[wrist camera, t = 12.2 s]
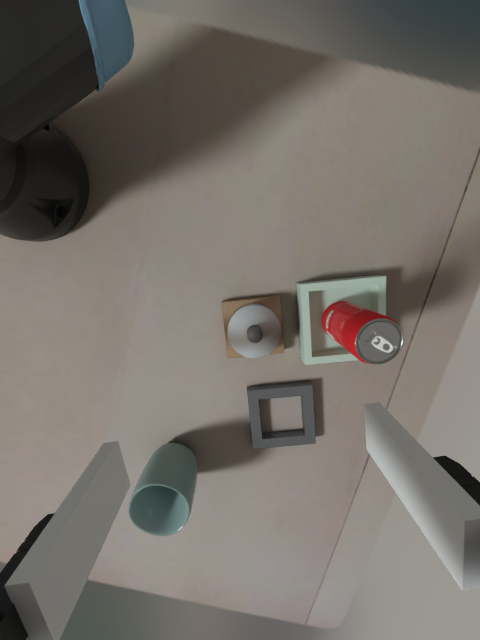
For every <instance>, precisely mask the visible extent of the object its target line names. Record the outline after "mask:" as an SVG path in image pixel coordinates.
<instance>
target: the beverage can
mask: <svg viewBox="0 0 480 640" xmlns="http://www.w3.org/2000/svg"><path fill="white" fill-rule="evenodd" d="M322 327H323V329H324V331H325V332H326V333H327V334H328V335H329V336H330V337H332V338H333V339H334V340H335V341H336V342H338V343H339V344H340V345H341V346H343V347H344V348H345V349H346V350H347V351H349V352H350V353H351V354H352V355H354V356H355V357H356V358H357V359H359V360H360V361H362V362H365V363H369V364H384V363H386V362H389V361H390V360H392V359H393V358H394V357H396V356H397V354H398V353H399V351H400V350H401V347H402V344H403V334H402V331H401V329H400V328H399V326H398V325H397V324H396V323H395V321H393V320H392V319H391V318H389V317H387V316H385V315H382V314H379V313H377V312H374V311H371V310H368V309H366V308H363V307H360V306H357V305H355V304H352V303H349V302H346V301H338V302H335V303H333V304H331V305H329V306H328V307H327V308H326V310H325V311H324V313H323V315H322Z"/></svg>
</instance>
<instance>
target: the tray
mask: <svg viewBox="0 0 480 640" xmlns="http://www.w3.org/2000/svg"><path fill="white" fill-rule="evenodd" d="M296 293H297V309H298V326H299V343H300V358H301V360H302V361H303V363H304V364H305V365H311V364H321V363H332V362H342V361H353V360H359V359H357V358H356V357H355V356H354V355H352V354H351V353H350V352H349V351H347V350H346V349H345V348H344V347H343V346H341V345H340V344H339V343H338V342H336V341H335V340H334V339H333V338H332V337H330V336H329V335H328V334H327V333H326V332H325V331H324V329H323V327H322V315H323V313H324V311H325V310H326V308H327V307H328V306H329V305H331V304H333V303H335V302H338V301H346V302H349V303H352V304H355V305H357V306H360V307H363V308H366V309H368V310H371V311H374V312H377V313H379V314H382V315H385V316H386V276H380V275H370V276H360V277H350V278H340V279H330V280H320V281H310V282H300V283H296Z"/></svg>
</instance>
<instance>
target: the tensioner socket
mask: <svg viewBox="0 0 480 640" xmlns="http://www.w3.org/2000/svg"><path fill="white" fill-rule="evenodd" d="M247 394H248V404H249V414H250V423H251V433H252V443H253V449H259V448H270V447H281V446H293V445H304V444H315V443H316V440H315V420H314V401H313V385H312V383H311V381H302V382H291V383H281V384H270V385H259V386H249V387H247ZM293 396H301V404H302V421H303V430H294V431H283V432H272V433H261V422H260V411H259V401H258V400H260V399H271V398H282V397H293Z"/></svg>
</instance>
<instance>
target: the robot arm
mask: <svg viewBox="0 0 480 640" xmlns="http://www.w3.org/2000/svg"><path fill="white" fill-rule="evenodd" d="M133 36H134V35H133V29H132V24H131V20H130V16H129V13H128V9H127V6H126V3H125V0H0V234H1V235H4V236H7V237H10V238H13V239H18V240H26V241H48V240H52V239H56V238H58V237H60V236H62V235H64V234H66V233H67V232H68V231H70V230H71V229H72V228H73V227H74V226H75V225H76V224H77V222H78V221H79V219H80V218H81V216H82V214H83V212H84V210H85V207H86V204H87V199H88V190H89V184H88V176H87V171H86V167H85V164H84V162H83V159H82V157H81V155H80V153H79V151H78V150H77V148H76V147H75V145H74V144H73V142H72V141H71V140H70V139H69V138H68V137H67V136H66V135H65V134H64V133H63V132H62V131H61V130H60V129H58V128H57V127H56V126H54V125H53V124H51V123H50V122H52V121H53V120H55V119H56V118H57V117H59V116H60V115H61V114H63V113H64V112H66V111H67V110H68V109H70V108H71V107H72V106H74V105H75V104H77V103H78V102H79V101H81V100H82V99H83V98H85V97H86V96H88V95H89V94H90V93H92V92H93V91H94V90H96V91H97V92H99V91H100V90H102V89H103V87H104V83H105V82H106V81H108V80H109V79H110V78H111V77H112V76H114V75H115V74H116V73H117V72H119V71H120V70H121V69H122V68H123V67H125V66H126V65H127V64H128V62H129V61H130V59H131V57H132V54H133V48H134V37H133ZM364 411H365V427H366V443H367V451H368V452H369V454H370V455H371V457H372V458H373V459H374V461H375V462H376V464H377V465H378V467H379V468H380V470H381V471H382V473H383V474H384V476H385V477H386V479H387V480H388V482H389V483H390V485H391V486H392V488H393V489H394V490H395V492H396V493H397V495H398V496H399V498H400V499H401V501H402V502H403V504H404V505H405V507H406V508H407V510H408V511H409V513H410V514H411V516H412V517H413V519H414V520H415V521H416V523H417V524H418V526H419V527H420V529H421V530H422V532H423V533H424V535H425V536H426V538H427V539H428V541H429V542H430V544H431V545H432V547H433V548H434V550H435V551H436V552H437V554H438V555H439V557H440V558H441V560H442V561H443V563H444V564H445V566H446V567H447V569H448V570H449V572H450V573H451V574H452V576H453V578H454V579H455V581H456V582H457V583H458V585H459V586H460V588H461V589H462V591H467V590H475V589H480V482H479V481H478V480H476V478H474V477H472V476H471V474H470V473H469V472H468V471H467V470H466V469H465V468H464V467H462V466H461V465H460V464H459V463H457V462H455V461H454V460H452V459H450V458H448V457H447V456H440V457H432V456H431V455H430V454H429V453H428V452H427V451H426V450H425V449H424V448H423V447H422V446H421V445H420V444H419V443H418V442H417V441H416V440H415V439H414V438H413V437H412V436H411V435H410V434H409V433H408V432H407V431H406V430H405V429H404V428H403V427H402V426H401V425H400V424H399V423H398V421H397V420H396V419H395V418H394V417H393V416H392V415H391V414H390V413H389V412H388V411H387V410H386V409H385V408H384V407H383V406H382V405H381V404H380V403H379V402H377V403H370V404H364ZM129 486H130V481H129V478H128V474H127V471H126V468H125V464H124V461H123V457H122V454H121V450H120V447H119V443H118V441H116V442H109V443H104V444H103V445H102V447H101V448H100V449H99V451H98V452H97V454H96V455H95V457H94V458H93V459H92V461H91V462H90V464H89V465H88V467H87V468H86V469H85V471H84V472H83V474H82V475H81V477H80V478H79V480H78V481H77V482H76V484H75V485H74V487H73V488H72V490H71V491H70V492H69V494H68V495H67V497H66V498H65V500H64V501H63V502H62V504H61V505H60V507H59V508H58V510H57V511H56V512H55V513H54V514H48V515H47V516H46V517H44V518H43V519H42V520H41V521H40V522H39V523H38V524H37V525H36V526H35V527H34V528H33V529H32V531H31V532H30V533H29V535H28V536H27V538H26V539H25V542H23V543H22V544H21V546H20V547H19V548H18V550H17V553H16V554H14V555H13V556H12V558H11V559H10V561H9V562H8V563H7V565H6V566H5V568H4V569H3V570H2V571H1V573H0V640H26V639H27V637H28V639H29V640H60V637H61V635H62V633H63V631H64V629H65V627H66V624H67V622H68V620H69V618H70V616H71V613H72V611H73V609H74V607H75V605H76V602H77V600H78V598H79V596H80V594H81V591H82V589H83V587H84V585H85V583H86V581H87V578H88V576H89V574H90V572H91V570H92V567H93V565H94V563H95V561H96V559H97V557H98V554H99V552H100V550H101V548H102V546H103V543H104V541H105V539H106V537H107V535H108V532H109V530H110V528H111V526H112V524H113V521H114V519H115V517H116V515H117V513H118V511H119V508H120V506H121V504H122V502H123V500H124V497H125V495H126V493H127V491H128V489H129Z"/></svg>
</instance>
